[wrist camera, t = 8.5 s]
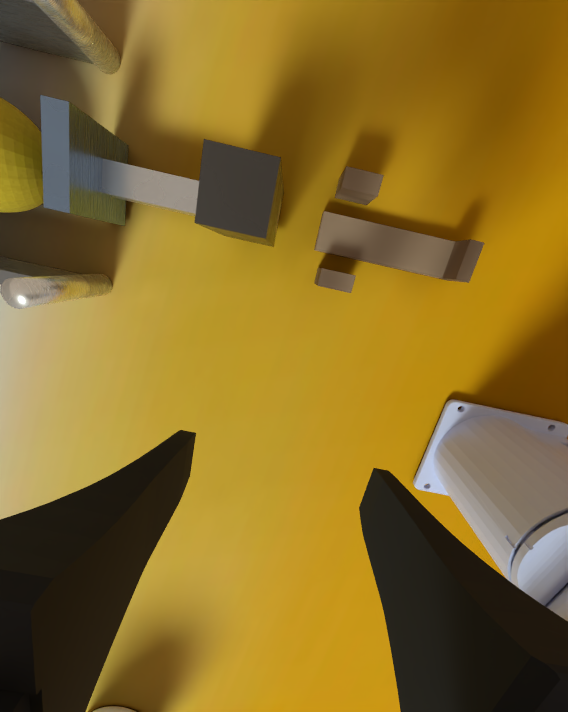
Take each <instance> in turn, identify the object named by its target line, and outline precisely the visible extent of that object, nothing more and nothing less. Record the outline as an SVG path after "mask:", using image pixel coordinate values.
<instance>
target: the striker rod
mask: <svg viewBox="0 0 568 712" xmlns="http://www.w3.org/2000/svg"><path fill="white" fill-rule="evenodd" d="M40 101H41V134H42V167H43V200H44V208H48V209H53V210H57V211H61V212H66V213H70V214H74V215H79V216H83V217H87V218H92V219H96V220H100V221H105V222H109V223H114V224H118V225H123V226H125V210H126V201H130V202H135V203H139V204H143V205H148V206H152V207H157V208H161V209H165V210H170V211H174V212H179V213H183V214H187V215H192V216H195V223H196V224H199V225H201V226H203V227H206V228H208V229H210V230H212V231H215V232H217V233H219V234H222V235H224V236H228V237H232V238H237V239H241V240H245V241H250V242H254V243H259V244H263V245H268V246H272V247H274V242H275V237H276V232H277V226H278V221H279V216H280V211H281V205H282V200H283V195H284V188H283V177H282V166H281V157H277V156H272V155H268V154H264V153H260V152H256V151H251V150H247V149H243V148H239V147H235V146H231V145H226V144H222V143H218V142H214V141H210V140H205V139H204V143H203V152H202V161H201V170H200V179H199V181H197V180H193V179H189V178H184V177H180V176H176V175H171V174H167V173H163V172H158V171H154V170H150V169H146V168H141V167H137V166H133V165H128V145H127V144H126V143H124V142H123V141H122V140H120V139H119V138H118V137H116V136H115V135H114V134H112V133H111V132H109V131H108V130H107V129H105V128H104V127H103V126H101V125H100V124H99V123H97V122H96V121H94V120H93V119H92V118H90V117H89V116H88V115H86V114H85V113H84V112H82V111H81V110H79V109H78V108H77V107H75V106H74V105H73V104H71V103H70V102H68V101H64V100H60V99H55V98H51V97H47V96H43V95H40Z"/></svg>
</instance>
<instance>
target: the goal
mask: <svg viewBox="0 0 568 712" xmlns="http://www.w3.org/2000/svg"><path fill="white" fill-rule="evenodd" d="M0 41H2V42H6V43H10V44H15V45H19V46H23V47H27V48H31V49H35V50H39V51H43V52H47V53H51V54H55V55H59V56H63V57H67V58H71V59H75V60H80V61H84V62H88V63H92V64H95V65H96V66H97V67H98V68H99V69H100V70H101V71H102V72H104V73H106V74H113V73H115V72H116V71H117V70H118V68H119V66H120V55H119V53H118V51H117V49H116V48H115V46H114V45H113V44H112V43H111V41H110V40H109V39H108V38H107V37H106V35H105V34H104V33H103V32H102V30H101V29H100V28H99V27H98V25H97V24H96V23H95V22H94V20H93V19H92V18H91V17H90V16H89V14H88V13H87V12H86V11H85V9H84V8H83V7H82V6H81V4H80V3H79V2H78V1H77V0H0ZM0 284H1V294H2V297H3V299H4V300H5V301H6V302H7V303H8V304H9V305H10V306H12V307H14V308H18V309H22V308H28V307H34V306H40V305H46V304H52V303H58V302H64V301H71V300H77V299H83V298H89V297H95V296H101V295H106V294H109V293H110V292H111V290H112V283H111V280H110V279H109V278H108V277H107V276H106V275H104V274H79V273H74V272H70V271H65V270H61V269H56V268H51V267H47V266H42V265H37V264H33V263H28V262H23V261H19V260H14V259H10V258H5V257H0Z"/></svg>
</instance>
